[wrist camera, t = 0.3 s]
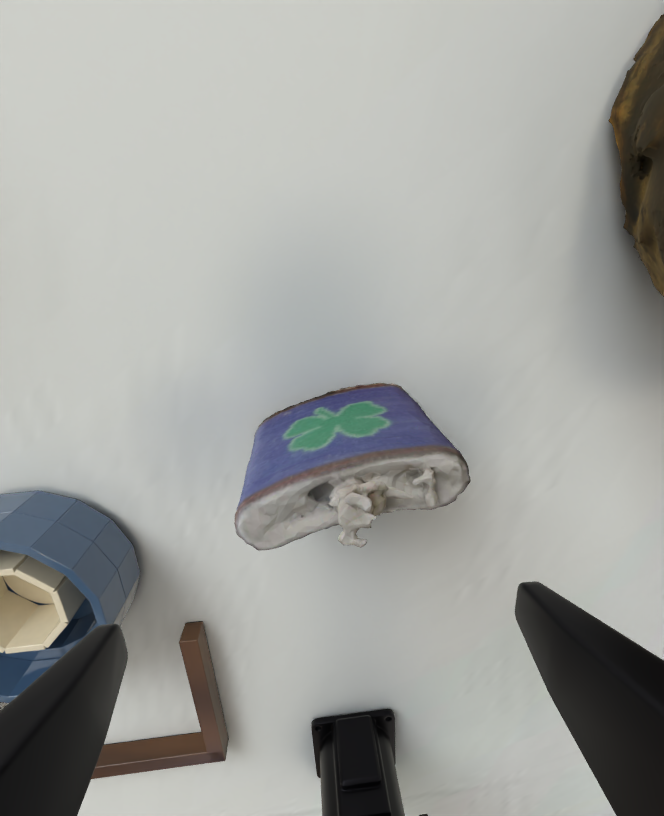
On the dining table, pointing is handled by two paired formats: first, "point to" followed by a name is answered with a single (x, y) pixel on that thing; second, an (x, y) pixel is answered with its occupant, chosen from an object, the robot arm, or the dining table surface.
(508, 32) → the dining table surface
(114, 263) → the dining table surface
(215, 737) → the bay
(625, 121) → the pottery vessel
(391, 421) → the flask
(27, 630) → the small bowl
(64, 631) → the blue-grey round ring piece
